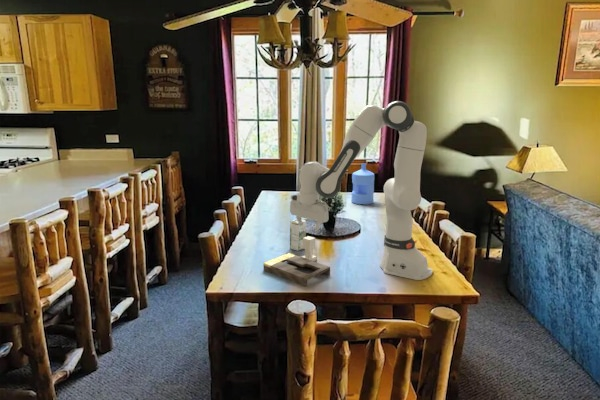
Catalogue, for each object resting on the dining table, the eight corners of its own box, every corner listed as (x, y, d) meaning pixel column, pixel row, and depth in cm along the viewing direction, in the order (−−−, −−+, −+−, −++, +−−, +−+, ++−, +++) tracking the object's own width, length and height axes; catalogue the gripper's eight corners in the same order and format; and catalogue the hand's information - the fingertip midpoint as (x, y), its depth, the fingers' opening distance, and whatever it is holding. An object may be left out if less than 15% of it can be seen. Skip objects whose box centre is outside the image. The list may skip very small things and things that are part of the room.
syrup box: (297, 245, 212) (297, 218, 208) (306, 248, 208) (306, 220, 205) (289, 248, 207) (289, 220, 204) (298, 251, 204) (298, 222, 200)
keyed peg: (316, 260, 193) (316, 237, 190) (309, 263, 189) (309, 240, 187) (308, 257, 196) (308, 235, 194) (301, 260, 193) (301, 238, 190)
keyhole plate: (330, 274, 177) (330, 266, 177) (305, 286, 166) (305, 278, 165) (288, 259, 193) (288, 252, 192) (263, 270, 181) (263, 262, 181)
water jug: (361, 198, 310) (362, 161, 304) (377, 202, 299) (379, 163, 292) (346, 201, 301) (347, 163, 294) (363, 206, 289) (364, 166, 282)
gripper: (332, 200, 181) (331, 231, 185) (297, 193, 195) (296, 221, 198) (323, 203, 177) (322, 234, 180) (288, 195, 190) (287, 224, 193)
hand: (308, 227), depth 189 cm, fingers open, 8 cm apart
